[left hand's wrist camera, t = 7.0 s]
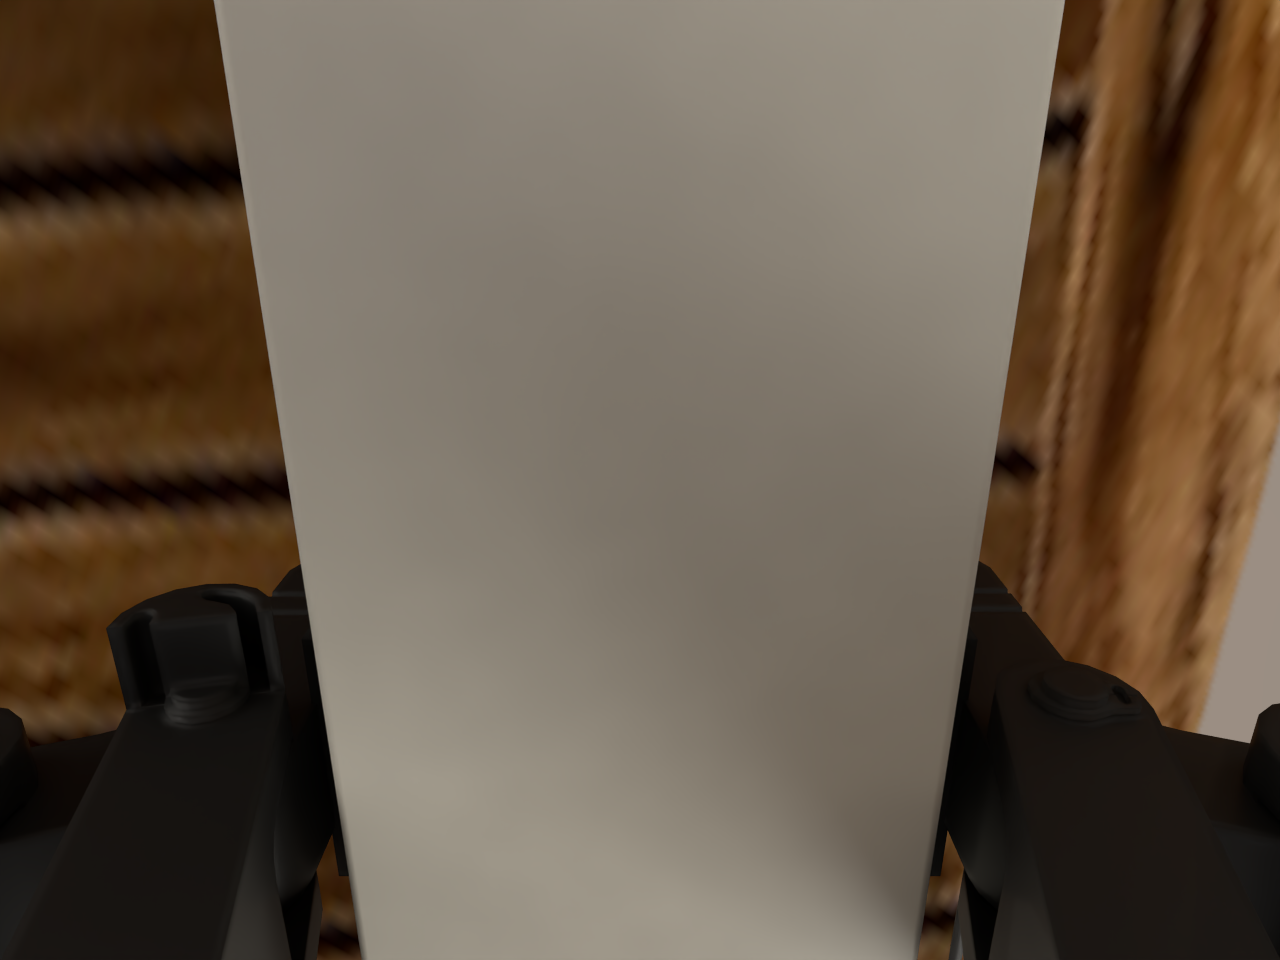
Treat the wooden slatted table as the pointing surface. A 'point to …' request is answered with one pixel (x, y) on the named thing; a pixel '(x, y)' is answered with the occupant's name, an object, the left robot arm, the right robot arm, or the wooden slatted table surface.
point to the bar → (639, 446)
